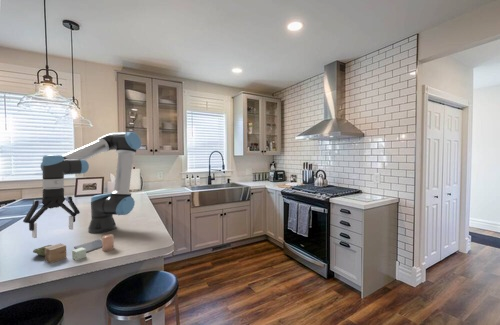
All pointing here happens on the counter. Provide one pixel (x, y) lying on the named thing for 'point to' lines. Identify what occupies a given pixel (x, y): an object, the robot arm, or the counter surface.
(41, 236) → the counter surface
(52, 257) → the walnut cube
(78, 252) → the sage block
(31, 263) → the counter surface
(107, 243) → the pink glossy pebble
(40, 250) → the seashell
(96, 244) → the coaster
